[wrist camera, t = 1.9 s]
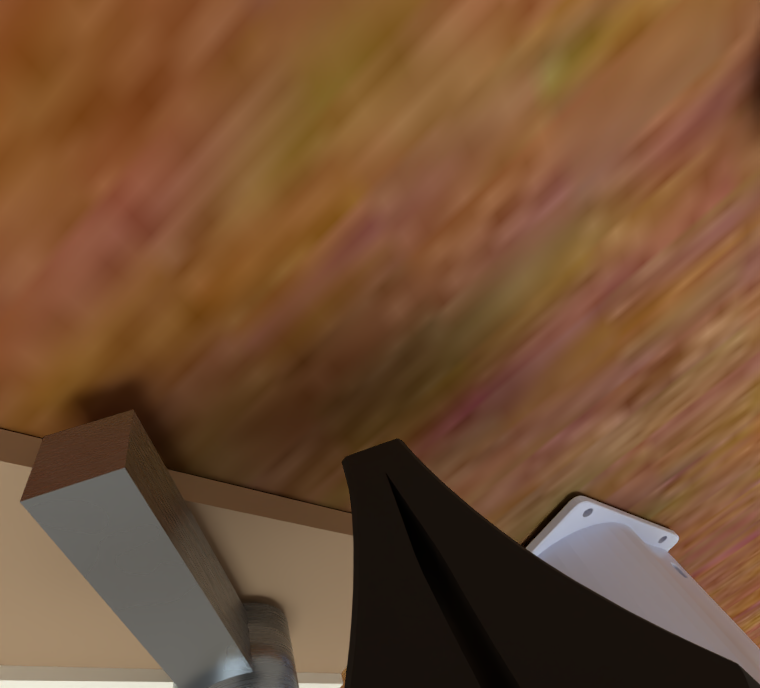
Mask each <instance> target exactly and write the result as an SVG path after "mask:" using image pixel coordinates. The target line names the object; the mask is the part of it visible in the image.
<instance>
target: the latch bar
mask: <svg viewBox="0 0 760 688" xmlns="http://www.w3.org/2000/svg"><path fill="white" fill-rule="evenodd" d="M20 503H21V504H22V505H23V506H24V508H25V509H26V510H27V511H28V512H29V513H30V515H31V516H32V517H33V518H34V519H35V520H36V522H37V523H38V524H39V525H40V526H41V527H42V529H43V530H44V531H45V532H46V533H47V534H48V536H49V537H50V538H51V539H52V540H53V541H54V543H55V544H56V545H57V546H58V547H59V548H60V550H61V551H62V552H63V553H64V554H65V555H66V557H67V558H68V559H69V560H70V561H71V563H72V564H73V565H74V566H75V567H76V568H77V570H78V571H79V572H80V573H81V574H82V575H83V577H84V578H85V579H86V580H87V581H88V582H89V584H90V585H91V586H92V587H93V588H94V589H95V591H96V592H97V593H98V594H99V595H100V596H101V598H102V599H103V600H104V601H105V602H106V603H107V605H108V606H109V607H110V608H111V609H112V610H113V612H114V613H115V614H116V615H117V616H118V617H119V619H120V620H121V621H122V622H123V623H124V624H125V626H126V627H127V628H128V629H129V630H130V631H131V633H132V634H133V635H134V636H135V637H136V638H137V640H138V641H139V642H140V643H141V644H142V646H143V647H144V648H145V649H146V650H147V651H148V653H149V654H150V655H151V656H152V657H153V658H154V660H155V661H156V662H157V663H158V664H159V665H160V667H161V668H162V669H163V670H164V671H165V672H166V674H167V675H168V676H169V677H170V678H171V679H172V681H173V688H299V684H298V678H297V672H296V667H295V661H294V655H293V649H292V644H291V638H290V632H289V626H288V621H287V618H286V616H285V614H284V613H283V612H282V611H281V610H279V609H278V608H276V607H274V606H271V605H268V604H262V603H243V604H242V602H241V600H240V598H239V596H238V595H237V593H236V591H235V589H234V588H233V586H232V584H231V582H230V580H229V579H228V577H227V575H226V573H225V571H224V570H223V568H222V566H221V564H220V563H219V561H218V559H217V557H216V555H215V554H214V552H213V550H212V548H211V547H210V545H209V543H208V541H207V539H206V538H205V536H204V534H203V532H202V531H201V529H200V527H199V525H198V523H197V522H196V520H195V518H194V516H193V515H192V513H191V511H190V509H189V507H188V506H187V504H186V502H185V500H184V499H183V497H182V495H181V493H180V491H179V490H178V488H177V486H176V484H175V483H174V481H173V479H172V477H171V475H170V474H169V472H168V470H167V468H166V467H165V465H164V463H163V461H162V459H161V458H160V456H159V454H158V452H157V451H156V449H155V447H154V445H153V443H152V442H151V440H150V438H149V436H148V435H147V433H146V431H145V429H144V427H143V426H142V424H141V422H140V420H139V418H138V417H137V415H136V413H135V411H134V410H129V411H126V412H123V413H119V414H116V415H113V416H110V417H106V418H103V419H100V420H97V421H93V422H90V423H87V424H83V425H80V426H77V427H74V428H70V429H67V430H64V431H60V432H57V433H54V434H51V435H47V436H44V437H43V440H42V443H41V445H40V448H39V451H38V454H37V456H36V459H35V462H34V464H33V467H32V470H31V473H30V475H29V478H28V481H27V483H26V486H25V489H24V492H23V494H22V497H21V500H20Z"/></svg>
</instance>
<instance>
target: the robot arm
mask: <svg viewBox="0 0 760 688" xmlns="http://www.w3.org/2000/svg"><path fill="white" fill-rule="evenodd" d="M342 465H343V469H344V472H345V476H346V480H347V484H348V487H349V493H350V501H351V510H352V527H353V599H352V617H351V630H350V642H349V652H348V661H347V671H346V680H345V688H760V649H759V648H758V647H757V645H756V644H755V643H754V642H753V641H752V640H751V639H750V638H749V637H748V636H747V635H746V634H745V633H744V632H743V631H742V630H741V629H740V628H739V627H738V625H737V624H736V623H735V622H734V621H733V620H732V619H731V618H730V617H729V616H728V615H727V614H726V613H725V612H724V611H723V610H722V609H721V608H720V607H719V605H718V604H717V603H716V602H715V601H714V600H713V599H712V598H711V597H710V596H709V595H708V594H707V593H706V592H705V591H704V590H703V589H702V588H701V587H700V585H699V584H698V583H697V582H696V581H695V580H694V579H693V578H692V577H691V576H690V575H689V574H688V573H687V572H686V571H685V570H684V569H683V568H682V566H681V565H680V564H679V563H678V562H677V561H676V560H675V559H674V558H673V557H672V556H671V555H670V554H669V553H668V551H669V550H670V549H671V548H672V547H673V546H674V545H675V544H676V543H677V542H678V540H679V536H678V535H677V534H676V533H675V532H674V531H673V530H670V529H667V528H665V527H662V526H660V525H657V524H655V523H652V522H649V521H647V520H644V519H642V518H639V517H637V516H634V515H631V514H629V513H626V512H624V511H621V510H619V509H616V508H613V507H611V506H608V505H606V504H603V503H601V502H598V501H596V500H593V499H590V498H588V497H585V496H576V497H574V498H573V499H571V500H570V501H569V502H568V503H567V504H566V505H565V506H564V508H563V509H562V510H561V511H560V512H559V513H558V514H557V515H556V516H555V517H554V518H553V519H552V520H551V521H550V522H549V523H548V524H547V526H546V527H545V528H544V529H543V530H542V531H541V532H540V533H539V534H538V535H537V536H536V537H535V538H534V539H533V540H532V541H531V542H530V544H529V545H528V546H527V547H526V548H524V547H523V546H521V545H520V544H518V543H517V542H516V541H514V540H513V539H511V538H510V537H509V536H507V535H506V534H505V533H503V532H502V531H501V530H499V529H498V528H497V527H496V526H494V525H493V524H492V523H490V522H489V521H488V520H486V519H485V518H484V517H483V516H481V515H480V514H479V513H478V512H476V511H475V510H474V509H473V508H472V507H470V506H469V505H468V504H467V503H466V502H465V501H463V500H462V499H461V498H460V497H459V496H458V495H456V494H455V493H454V492H453V491H452V490H451V489H450V488H448V487H447V486H446V485H445V484H444V483H443V482H442V481H441V480H440V479H439V478H438V477H437V476H435V475H434V474H433V473H432V472H431V471H430V470H429V469H428V468H427V467H426V466H425V465H424V464H423V463H422V462H421V461H420V460H419V459H418V458H417V457H416V456H415V455H414V453H413V452H412V451H411V450H410V449H409V448H408V447H407V446H406V445H405V443H404V442H403V441H402V440H400V439H394V440H391V441H389V442H386V443H383V444H380V445H377V446H374V447H372V448H369V449H366V450H363V451H360V452H357V453H355V454H352V455H349V456H346V457H345V458H344V460H343V461H342Z"/></svg>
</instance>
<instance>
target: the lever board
mask: <svg viewBox="0 0 760 688" xmlns="http://www.w3.org/2000/svg"><path fill="white" fill-rule="evenodd" d="M42 440H43V439H40V438H36V437H32V436H28V435H24V434H20V433H16V432H12V431H7V430H3V429H0V688H173V681H172V679H171V678H170V677H169V676H168V675H167V674H166V672H165V671H164V670H163V669H162V668H161V667H160V665H159V664H158V663H157V662H156V661H155V660H154V658H153V657H152V656H151V655H150V654H149V653H148V651H147V650H146V649H145V648H144V647H143V646H142V644H141V643H140V642H139V641H138V640H137V638H136V637H135V636H134V635H133V634H132V633H131V631H130V630H129V629H128V628H127V627H126V626H125V624H124V623H123V622H122V621H121V620H120V619H119V617H118V616H117V615H116V614H115V613H114V612H113V610H112V609H111V608H110V607H109V606H108V605H107V603H106V602H105V601H104V600H103V599H102V598H101V596H100V595H99V594H98V593H97V592H96V591H95V589H94V588H93V587H92V586H91V585H90V584H89V582H88V581H87V580H86V579H85V578H84V577H83V575H82V574H81V573H80V572H79V571H78V570H77V568H76V567H75V566H74V565H73V564H72V563H71V561H70V560H69V559H68V558H67V557H66V555H65V554H64V553H63V552H62V551H61V550H60V548H59V547H58V546H57V545H56V544H55V543H54V541H53V540H52V539H51V538H50V537H49V536H48V534H47V533H46V532H45V531H44V530H43V529H42V527H41V526H40V525H39V524H38V523H37V522H36V520H35V519H34V518H33V517H32V516H31V515H30V513H29V512H28V511H27V510H26V509H25V508H24V506H23V505H22V504H21V503H20V500H21V497H22V494H23V492H24V489H25V486H26V483H27V481H28V478H29V475H30V473H31V470H32V467H33V464H34V462H35V459H36V456H37V454H38V451H39V448H40V445H41V443H42ZM167 470H168V472H169V474H170V475H171V477H172V479H173V481H174V483H175V484H176V486H177V488H178V490H179V491H180V493H181V495H182V497H183V499H184V500H185V502H186V504H187V506H188V507H189V509H190V511H191V513H192V515H193V516H194V518H195V520H196V522H197V523H198V525H199V527H200V529H201V531H202V532H203V534H204V536H205V538H206V539H207V541H208V543H209V545H210V547H211V548H212V550H213V552H214V554H215V555H216V557H217V559H218V561H219V563H220V564H221V566H222V568H223V570H224V571H225V573H226V575H227V577H228V579H229V580H230V582H231V584H232V586H233V588H234V589H235V591H236V593H237V595H238V596H239V598H240V600H241V602H242V604H243V603H262V604H268V605H271V606H274V607H276V608H278V609H279V610H281V611H282V612H283V613H284V614H285V616H286V618H287V621H288V626H289V632H290V638H291V644H292V649H293V655H294V661H295V667H296V672H297V678H298V684H299V688H340V687H341V686H342V685H343V681H342V677H341V673H342V672H343V670H344V669H345V668H346V667H347V661H348V652H349V642H350V630H351V617H352V599H353V527H352V514H351V513H346V512H342V511H338V510H334V509H330V508H326V507H322V506H318V505H313V504H309V503H305V502H301V501H297V500H293V499H289V498H284V497H280V496H276V495H272V494H268V493H264V492H260V491H255V490H251V489H247V488H243V487H239V486H235V485H231V484H227V483H222V482H218V481H214V480H210V479H206V478H202V477H198V476H193V475H189V474H185V473H181V472H177V471H173V470H169V469H167Z"/></svg>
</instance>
